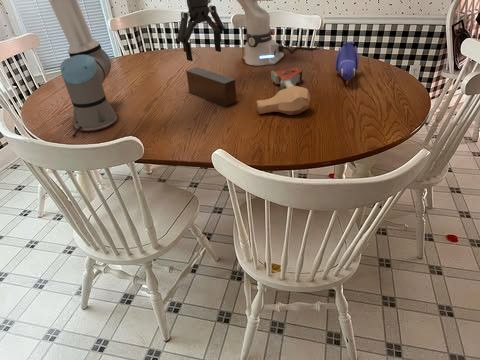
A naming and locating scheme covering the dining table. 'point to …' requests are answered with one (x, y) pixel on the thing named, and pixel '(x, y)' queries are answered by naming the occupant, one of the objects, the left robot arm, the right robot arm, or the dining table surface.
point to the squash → (286, 101)
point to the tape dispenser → (287, 77)
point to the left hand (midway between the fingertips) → (204, 55)
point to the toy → (347, 61)
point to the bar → (212, 86)
